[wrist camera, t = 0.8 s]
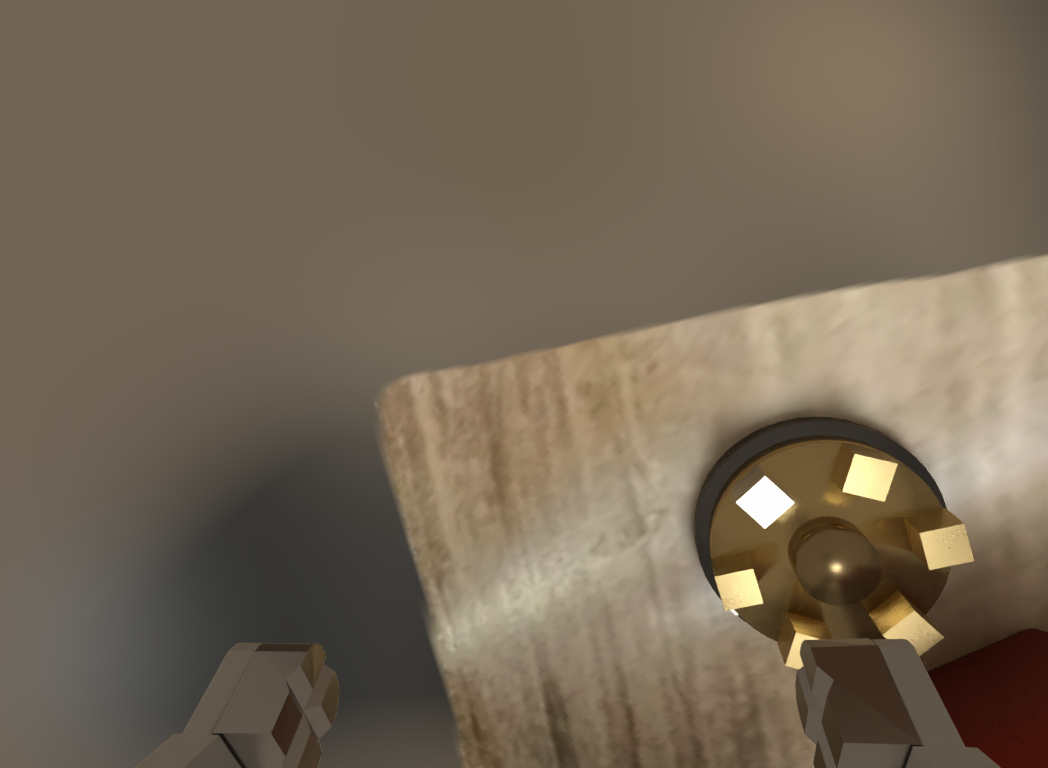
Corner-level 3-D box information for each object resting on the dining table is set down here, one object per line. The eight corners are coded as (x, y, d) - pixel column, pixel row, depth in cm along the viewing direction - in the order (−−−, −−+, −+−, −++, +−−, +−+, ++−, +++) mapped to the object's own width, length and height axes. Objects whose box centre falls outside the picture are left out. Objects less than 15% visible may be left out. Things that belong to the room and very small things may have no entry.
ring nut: (989, 540, 50) (1030, 573, 44) (816, 674, 54) (835, 718, 49) (821, 390, 50) (842, 405, 45) (664, 536, 55) (666, 565, 49)
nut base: (993, 529, 52) (1009, 541, 49) (809, 672, 57) (816, 689, 55) (814, 368, 52) (822, 373, 50) (647, 525, 57) (647, 536, 55)
